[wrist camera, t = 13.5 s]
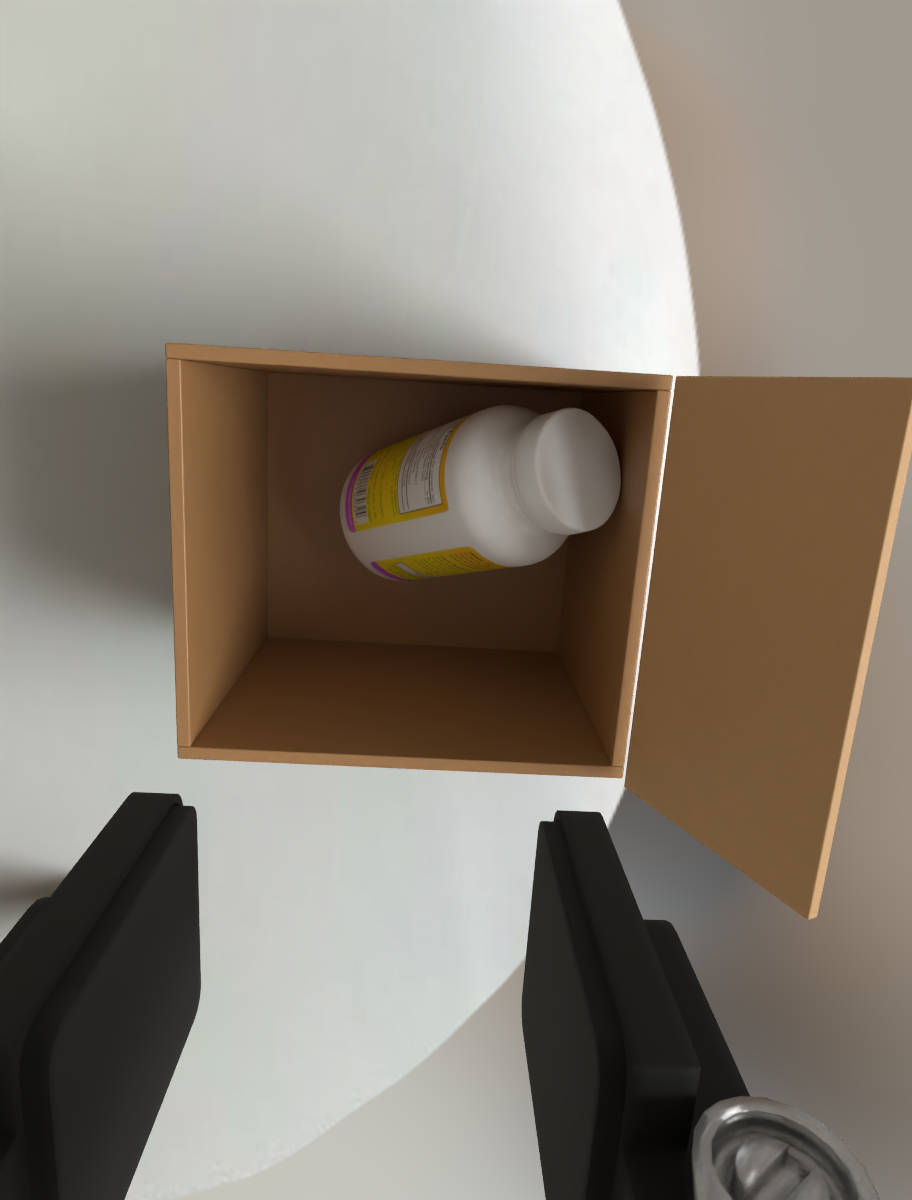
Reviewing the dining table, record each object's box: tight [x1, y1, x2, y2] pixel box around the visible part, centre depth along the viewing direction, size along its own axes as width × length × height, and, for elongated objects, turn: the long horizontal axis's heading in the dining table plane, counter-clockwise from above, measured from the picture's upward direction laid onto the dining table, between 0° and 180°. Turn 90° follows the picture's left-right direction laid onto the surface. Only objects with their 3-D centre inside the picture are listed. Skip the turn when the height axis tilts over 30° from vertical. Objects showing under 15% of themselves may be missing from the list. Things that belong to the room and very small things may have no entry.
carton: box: [165, 343, 673, 778], centre depth 35 cm, size 17×15×14 cm
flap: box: [624, 376, 912, 920], centre depth 24 cm, size 8×15×1 cm
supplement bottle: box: [340, 405, 621, 581], centre depth 34 cm, size 7×7×13 cm
